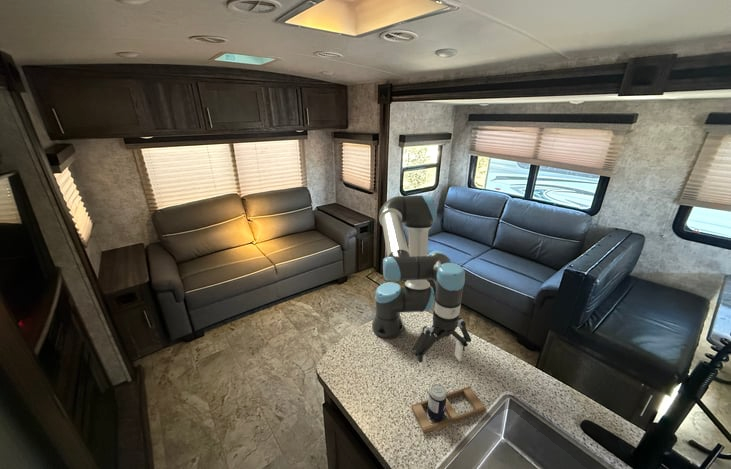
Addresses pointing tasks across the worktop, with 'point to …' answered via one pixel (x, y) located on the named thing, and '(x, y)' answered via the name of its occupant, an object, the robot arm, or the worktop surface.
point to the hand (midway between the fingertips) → (439, 362)
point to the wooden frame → (448, 410)
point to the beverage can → (437, 402)
